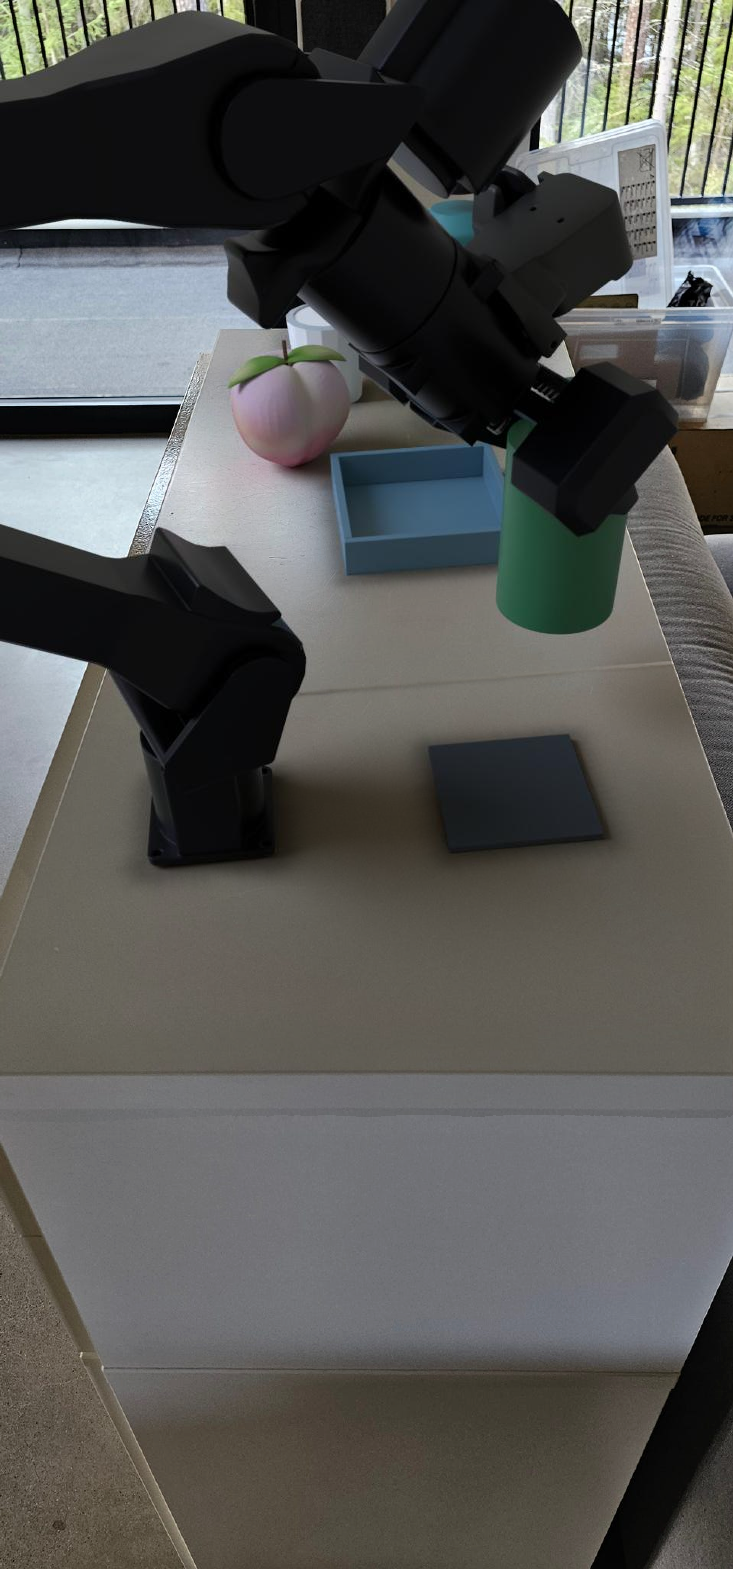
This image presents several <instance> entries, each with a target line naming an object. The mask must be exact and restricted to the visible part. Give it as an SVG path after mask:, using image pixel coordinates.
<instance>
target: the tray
mask: <svg viewBox="0 0 733 1569" xmlns="http://www.w3.org/2000/svg"><path fill="white" fill-rule="evenodd" d="M329 456H330V470H331V471H330V474H331V487H332V494H333V500H334V507H335V514H336V521H337V526H338V533H339V539H340V545H341V553H342V559H343V565H344V566H343V567H344V571H345V572H344V573H345V576H358V575H359V576H360V575H371V574H383V573H397V572H410V571H424V570H435V569H448V568H460V567H463V568H464V567H473V566H486V565H487V566H489V565H498V560H499V546H500V532H501V518H502V504H503V490H504V476H505V475H504V473H503V470H502V468H501V466H500V463H499V460H498V458H497V456H496V453H495V451H494V449H493V445H490V444H486V443H483V442H476V443H475V444H474V445H473V446H472V447H471V446H470V445H469V444H467V443H460V444H459V443H457V444H444V445H432V446H431V445H430V446H415V447H404V448H401V447H400V448H389V449H388V448H387V449H377V450H376V449H375V450H363V451H362V450H360V451H347V452H346V451H345V452H332V453H330V454H329Z"/></svg>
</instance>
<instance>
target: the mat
mask: <svg viewBox="0 0 733 1569" xmlns="http://www.w3.org/2000/svg"><path fill="white" fill-rule="evenodd" d="M427 752H428V757H429V761H430V765H431V770H432V776H433V780H434V785H435V790H436V795H437V800H438V804H439V810H440V813H441V814H440V815H441V818H442V824H443V828H444V833H445V837H446V841H447V847H448V852H449V853H460V852H461V853H462V852H472V851H482V850H483V851H484V850H493V849H494V850H495V849H503V848H504V849H505V848H514V847H516V848H517V847H527V846H536V845H537V846H539V845H548V844H549V845H550V844H560V843H571V842H582V841H583V842H584V841H592V840H593V841H594V840H604V839H605V836H606V832H605V830H604V827H603V824H602V822H601V819H600V816H599V813H598V811H597V807H596V805H595V802H594V799H593V796H592V794H591V790H590V788H589V785H588V782H587V780H586V777H585V775H584V772H583V769H582V766H581V764H580V761H579V758H578V755H577V753H576V749H575V748H574V743H573V741H572V739H571V735H570V734H569V733H561V734H551V735H537V736H528V737H527V736H526V737H516V738H503V739H493V740H491V739H490V740H480V741H469V742H456V743H446V744H444V743H443V744H434V745H433V744H432V745H428V746H427Z"/></svg>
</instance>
